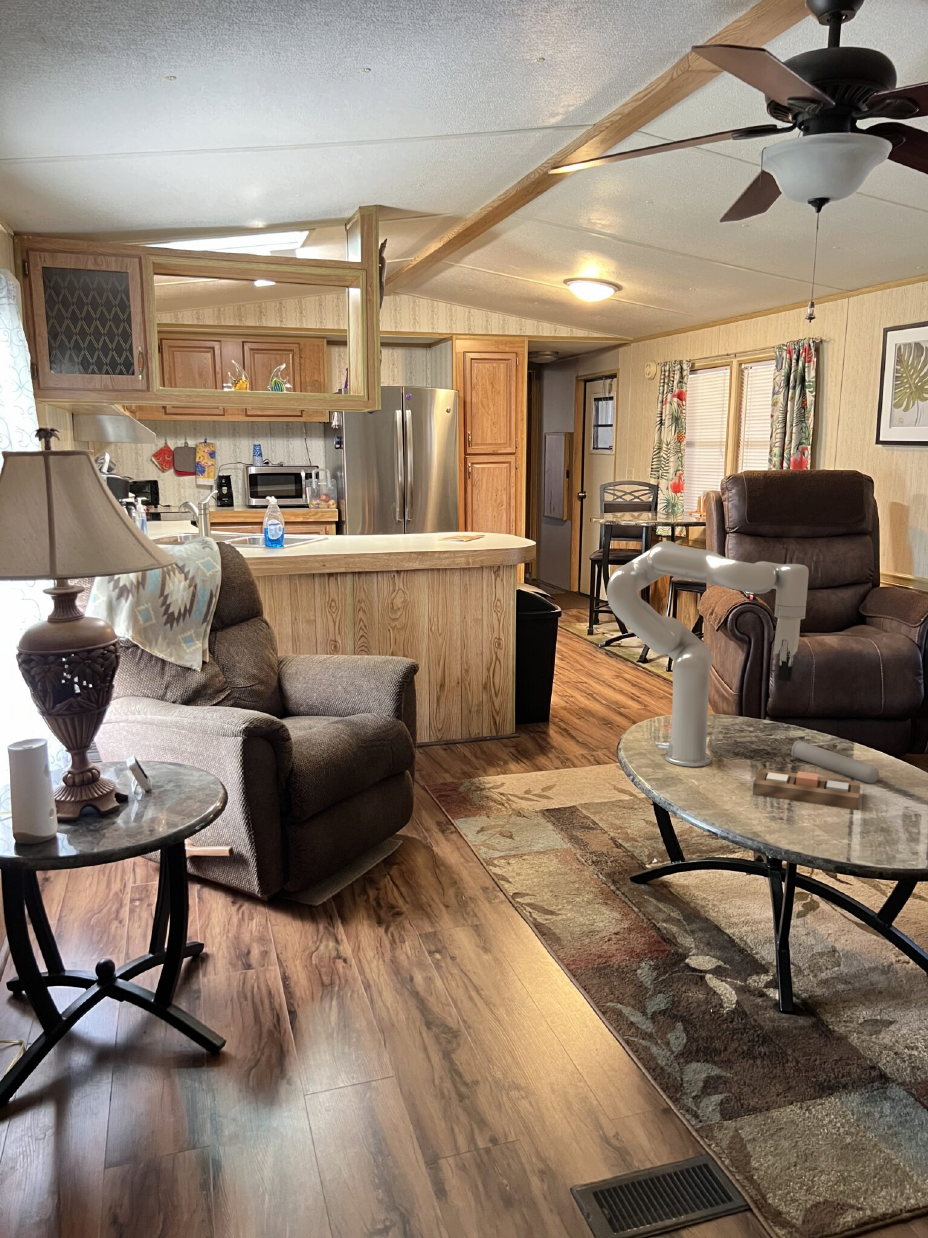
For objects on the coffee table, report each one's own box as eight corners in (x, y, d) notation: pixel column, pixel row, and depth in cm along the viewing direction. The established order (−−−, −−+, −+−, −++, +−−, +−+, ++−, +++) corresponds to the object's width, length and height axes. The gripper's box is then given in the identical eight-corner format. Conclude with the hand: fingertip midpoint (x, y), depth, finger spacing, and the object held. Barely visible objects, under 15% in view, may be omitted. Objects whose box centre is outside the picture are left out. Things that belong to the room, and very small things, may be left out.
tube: (885, 768, 230) (806, 742, 251) (873, 765, 227) (794, 738, 248) (879, 788, 230) (801, 760, 251) (867, 785, 227) (788, 757, 248)
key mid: (795, 788, 220) (796, 777, 220) (797, 782, 225) (798, 771, 224) (816, 791, 218) (817, 780, 218) (817, 785, 223) (818, 774, 222)
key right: (825, 798, 218) (826, 786, 217) (826, 791, 222) (827, 780, 221) (846, 801, 216) (847, 789, 215) (847, 794, 220) (848, 783, 219)
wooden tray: (752, 794, 221) (753, 783, 221) (759, 779, 232) (759, 768, 232) (858, 810, 211) (858, 798, 211) (859, 793, 222) (860, 782, 222)
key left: (765, 789, 223) (766, 778, 223) (767, 783, 228) (768, 772, 227) (785, 792, 221) (786, 781, 221) (787, 786, 226) (788, 775, 225)
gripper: (779, 606, 240) (774, 673, 244) (770, 614, 227) (764, 684, 231) (809, 609, 237) (803, 676, 240) (801, 617, 224) (795, 688, 227)
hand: (784, 680), depth 235 cm, fingers closed
